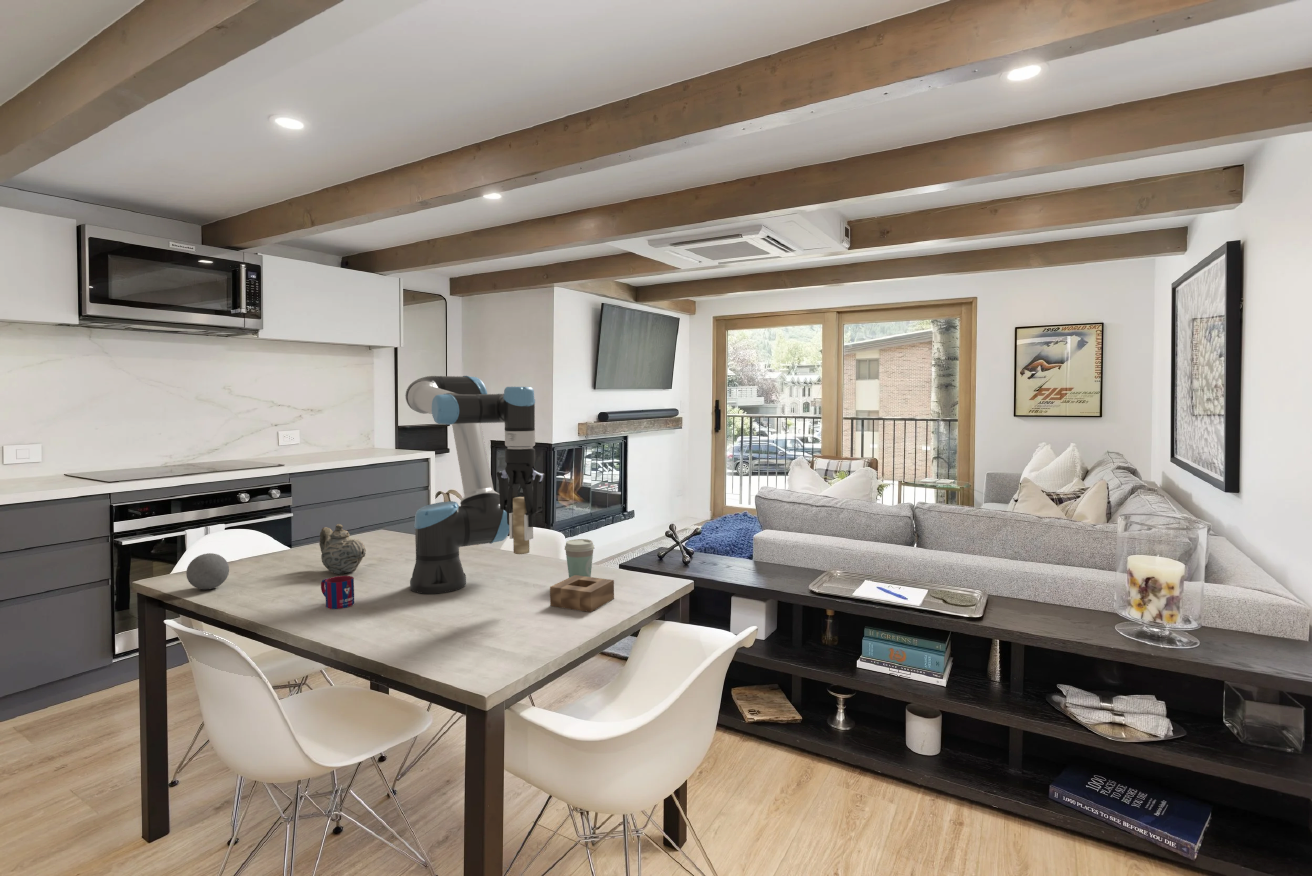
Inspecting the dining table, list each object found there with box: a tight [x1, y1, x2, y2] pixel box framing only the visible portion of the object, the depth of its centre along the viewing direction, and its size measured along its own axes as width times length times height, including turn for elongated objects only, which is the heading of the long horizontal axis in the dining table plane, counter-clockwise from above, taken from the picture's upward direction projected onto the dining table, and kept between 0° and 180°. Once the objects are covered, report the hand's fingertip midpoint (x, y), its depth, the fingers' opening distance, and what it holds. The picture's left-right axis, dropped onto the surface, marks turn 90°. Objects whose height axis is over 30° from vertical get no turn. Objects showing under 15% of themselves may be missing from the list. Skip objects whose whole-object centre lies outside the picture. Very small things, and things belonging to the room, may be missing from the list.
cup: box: [320, 575, 355, 610], centre depth 172 cm, size 7×10×7 cm
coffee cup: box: [564, 538, 595, 578], centre depth 189 cm, size 9×9×12 cm
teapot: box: [318, 523, 367, 575], centre depth 203 cm, size 21×12×15 cm, turn 58°
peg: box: [512, 496, 530, 555], centre depth 169 cm, size 4×4×14 cm
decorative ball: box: [186, 552, 230, 591], centre depth 186 cm, size 10×10×10 cm
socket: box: [549, 575, 615, 613], centre depth 172 cm, size 12×12×5 cm
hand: (521, 538), depth 169 cm, fingers closed on peg, 4 cm apart
